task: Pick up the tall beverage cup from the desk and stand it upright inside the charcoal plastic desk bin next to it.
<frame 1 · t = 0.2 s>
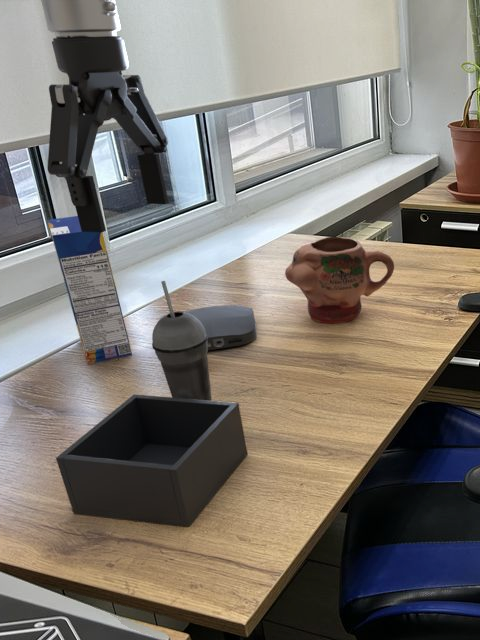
hand: (128, 216, 90), 29 cm above the table, tool pointing down, fingers open, 13 cm apart
beverage cup: (195, 414, 102), on the table
desk bin: (165, 482, 87), on the table
beverage box: (106, 349, 122), on the table
pink ceramic mug: (344, 314, 135), on the table
media streaming box: (214, 335, 127), on the table
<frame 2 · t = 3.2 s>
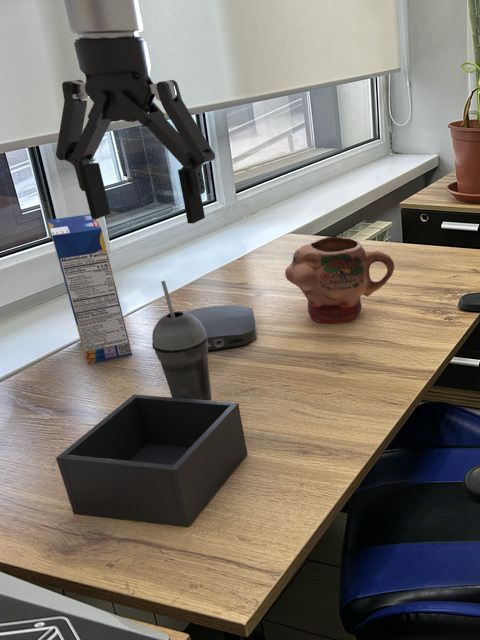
hand: (148, 218, 90), 29 cm above the table, tool pointing down, fingers open, 13 cm apart
nothing on the table moved.
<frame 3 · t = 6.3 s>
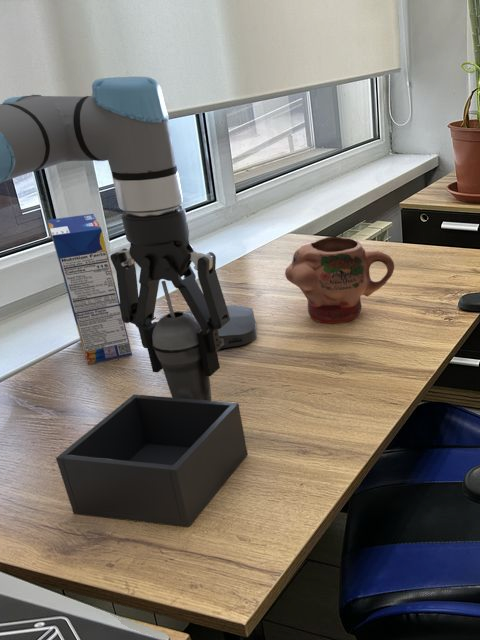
hand: (186, 369, 99), 7 cm above the table, tool pointing down, fingers closed on beverage cup, 7 cm apart
beverage cup: (195, 414, 102), on the table, touching gripper
everything else where it was.
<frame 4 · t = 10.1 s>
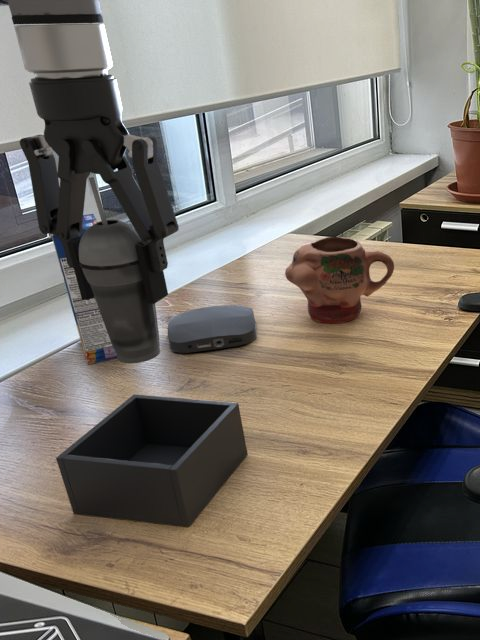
hand: (125, 296, 78), 24 cm above the table, tool pointing down, fingers closed on beverage cup, 7 cm apart
beverage cup: (139, 356, 81), point 17 cm above the table, touching gripper
everything else where it was.
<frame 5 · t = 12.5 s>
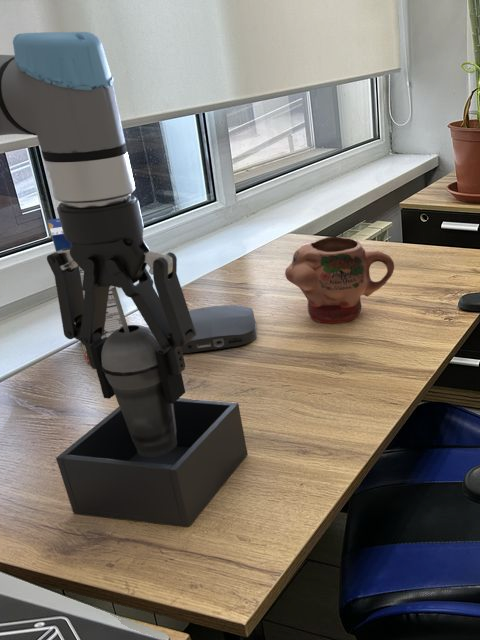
hand: (144, 394, 82), 12 cm above the table, tool pointing down, fingers closed on beverage cup, 7 cm apart
beverage cup: (157, 447, 85), point 5 cm above the table, touching gripper
everything else where it was.
when the fingers open (8 cm above the table, at t = 14.0 s): beverage cup stays where it is, resting on desk bin.
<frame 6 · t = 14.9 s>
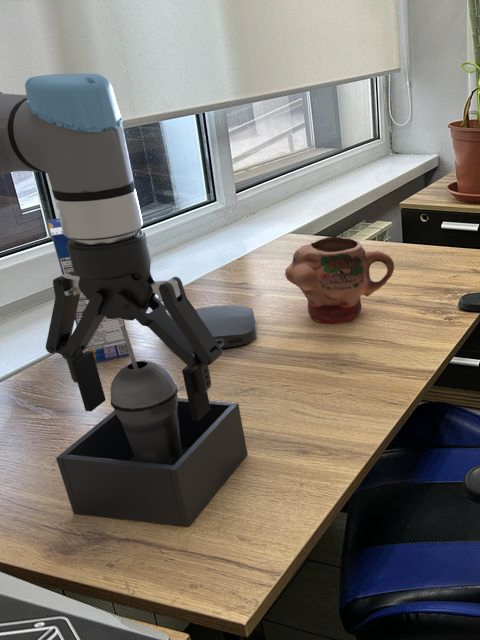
hand: (148, 410, 83), 10 cm above the table, tool pointing down, fingers open, 13 cm apart
beverage cup: (164, 478, 87), point 1 cm above the table, touching desk bin
everything else where it was.
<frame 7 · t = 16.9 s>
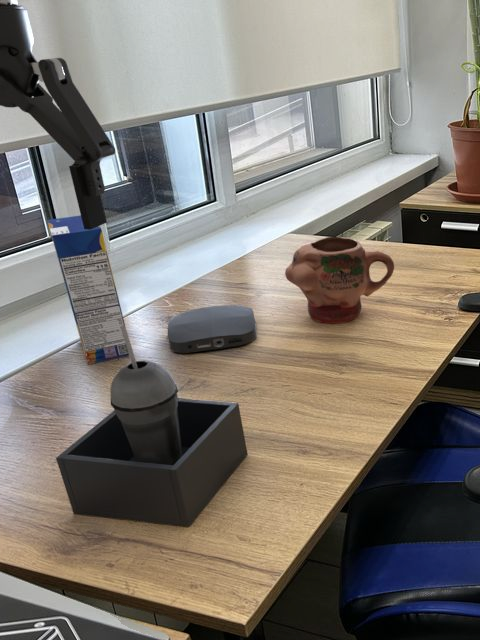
hand: (38, 222, 76), 32 cm above the table, tool pointing down, fingers open, 13 cm apart
nothing on the table moved.
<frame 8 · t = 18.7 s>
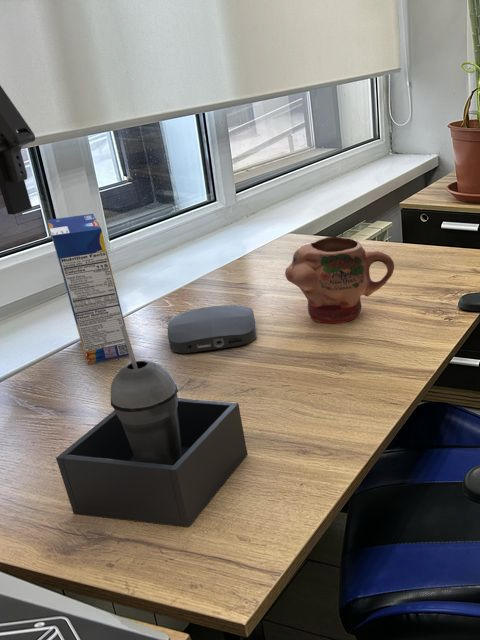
nothing on the table moved.
at the end: beverage cup inside the target area in the desk bin (0.0 cm from its centre), point 0.6 cm above the desk bin's base; beverage cup tilted 0° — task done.
